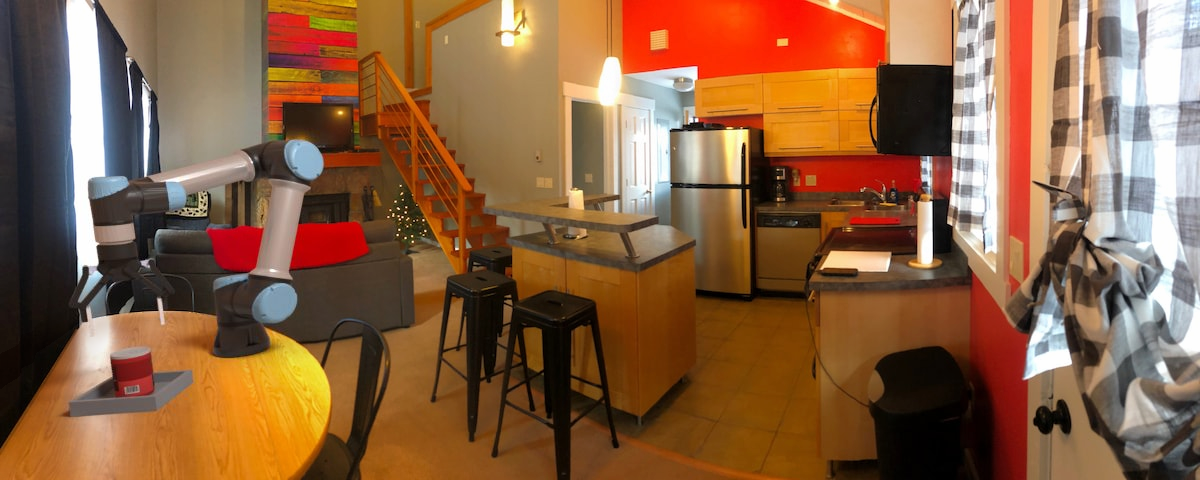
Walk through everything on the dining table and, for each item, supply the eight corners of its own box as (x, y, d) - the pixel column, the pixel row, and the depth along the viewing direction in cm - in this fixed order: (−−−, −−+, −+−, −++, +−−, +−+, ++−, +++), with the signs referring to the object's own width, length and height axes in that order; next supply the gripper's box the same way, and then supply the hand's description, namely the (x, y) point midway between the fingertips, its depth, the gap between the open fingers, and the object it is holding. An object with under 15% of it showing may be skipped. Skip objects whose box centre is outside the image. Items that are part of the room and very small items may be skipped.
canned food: (163, 390, 156) (157, 347, 154) (130, 402, 148) (124, 358, 147) (141, 386, 158) (135, 345, 157) (107, 399, 151) (101, 355, 149)
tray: (193, 382, 164) (191, 369, 163) (156, 410, 146) (155, 396, 146) (117, 387, 161) (115, 374, 160) (70, 417, 143) (68, 402, 143)
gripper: (177, 234, 158) (187, 316, 162) (46, 246, 143) (61, 336, 146) (180, 238, 153) (191, 322, 156) (45, 250, 137) (60, 343, 141)
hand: (128, 329), depth 151 cm, fingers open, 13 cm apart
